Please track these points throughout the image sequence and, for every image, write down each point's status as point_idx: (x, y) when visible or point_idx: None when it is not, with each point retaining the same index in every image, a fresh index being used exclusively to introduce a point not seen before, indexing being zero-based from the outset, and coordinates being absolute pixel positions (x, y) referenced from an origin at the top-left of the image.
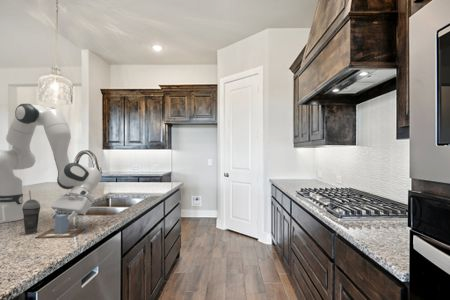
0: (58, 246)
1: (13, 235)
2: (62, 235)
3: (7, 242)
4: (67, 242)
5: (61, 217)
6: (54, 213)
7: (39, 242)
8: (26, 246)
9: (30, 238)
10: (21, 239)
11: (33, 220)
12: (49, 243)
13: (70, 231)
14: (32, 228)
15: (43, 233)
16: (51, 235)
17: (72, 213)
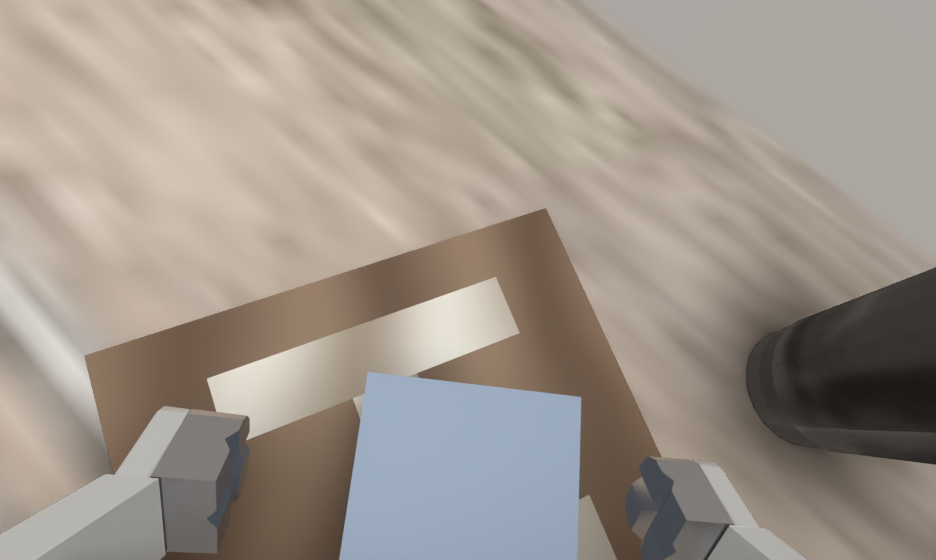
0: (47, 36)
1: (833, 251)
2: (281, 344)
3: (659, 74)
4: (31, 163)
5: (366, 383)
6: (749, 533)
7: (375, 114)
8: (392, 7)
9: (587, 205)
10: (636, 162)
11: (881, 326)
12: (236, 103)
13: (318, 555)
14: (790, 347)
15: (596, 353)
16: (426, 306)
17: (34, 540)
